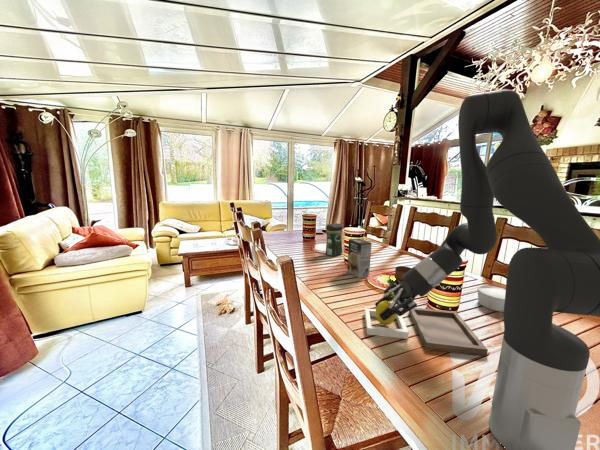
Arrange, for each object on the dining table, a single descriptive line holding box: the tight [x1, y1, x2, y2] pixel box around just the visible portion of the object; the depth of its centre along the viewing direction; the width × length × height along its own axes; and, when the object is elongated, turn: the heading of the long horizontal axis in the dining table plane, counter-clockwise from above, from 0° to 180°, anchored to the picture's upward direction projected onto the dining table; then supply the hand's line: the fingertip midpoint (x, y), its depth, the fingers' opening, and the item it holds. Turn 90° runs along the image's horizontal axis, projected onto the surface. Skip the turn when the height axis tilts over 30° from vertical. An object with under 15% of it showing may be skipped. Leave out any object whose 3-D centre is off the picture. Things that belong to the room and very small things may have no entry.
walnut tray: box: [408, 307, 489, 357], centre depth 70 cm, size 18×14×2 cm
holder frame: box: [364, 307, 410, 340], centre depth 73 cm, size 11×11×2 cm
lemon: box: [375, 301, 396, 327], centre depth 72 cm, size 6×6×8 cm
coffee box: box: [347, 237, 372, 279], centre depth 112 cm, size 9×6×16 cm
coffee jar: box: [325, 222, 343, 257], centre depth 142 cm, size 10×8×19 cm
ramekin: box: [476, 285, 506, 313], centre depth 84 cm, size 11×11×5 cm
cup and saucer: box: [388, 265, 413, 283], centre depth 104 cm, size 12×12×6 cm
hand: (379, 312), depth 72 cm, fingers closed on lemon, 5 cm apart
